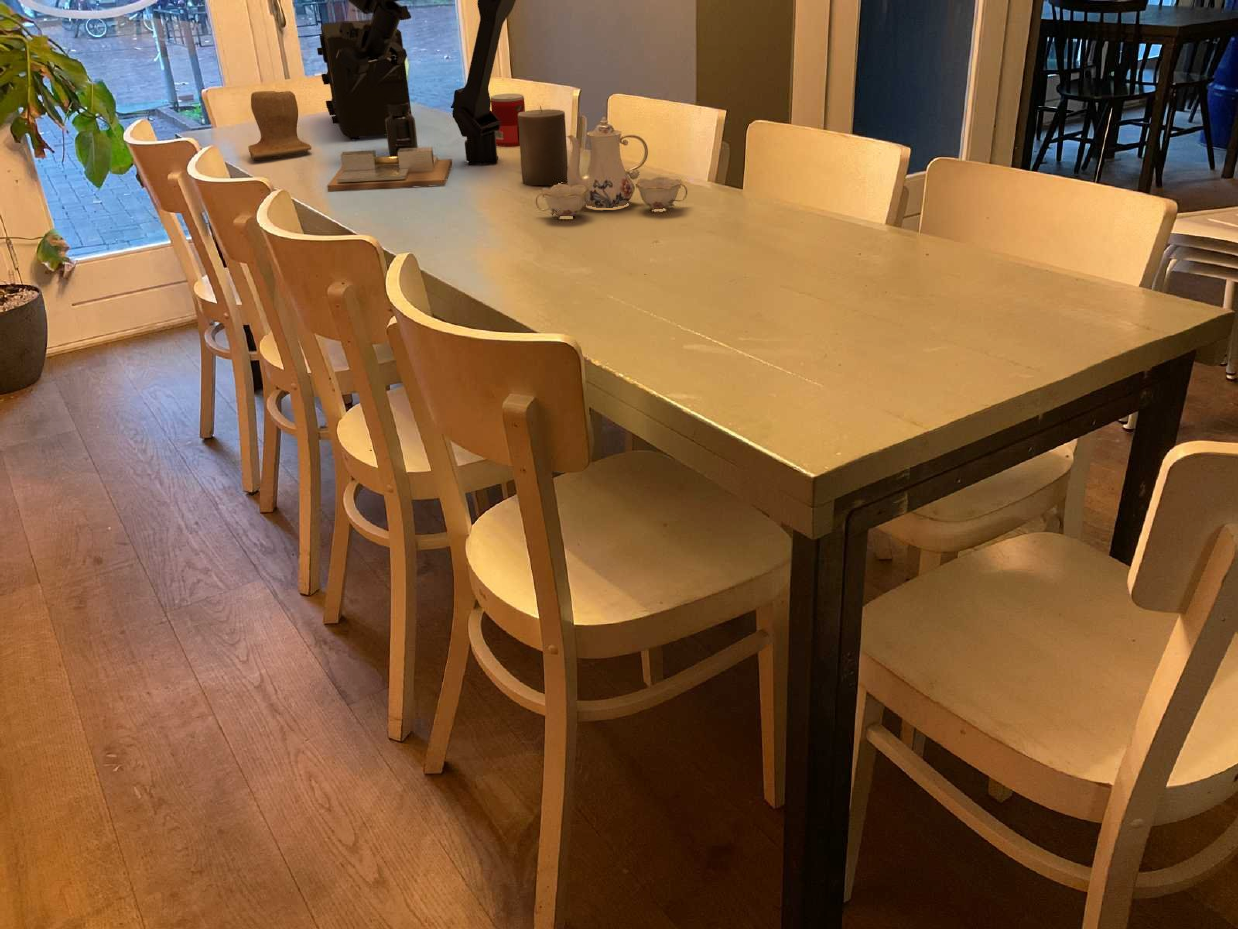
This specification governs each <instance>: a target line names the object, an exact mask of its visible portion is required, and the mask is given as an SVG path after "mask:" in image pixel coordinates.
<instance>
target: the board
mask: <svg viewBox="0 0 1238 929" xmlns="http://www.w3.org/2000/svg"><path fill="white" fill-rule="evenodd" d="M452 166H453V160H452V158H449V159H448V158H446V159H438V161H437V164H436V166H435V168H434V171H433V172H415V173H408V175H407V177H406V179H399V180H378V181H357V182H337V178H338V177H339V176H340V174H341V173H342V172H343V168H342V166H341V167H340V168H339V170H338V171H337V173H336V174H335V175H334V176H333V177H332V179H331V180H330V181H329V183H328V184H327V191H328V192H340V191H341V192H344V191H363V189H367V190H383V189H384V190H385V189H399V188H398V187H408V188H414V187H413V186H428V187H430V186H429V185H445V186H446V183H445V182H447V180H448V178H447V177H449V174H450V172H451V169H450V168H452ZM449 171H450V172H449ZM446 179H447V180H446Z"/></svg>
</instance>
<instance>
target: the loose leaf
mask: <svg viewBox="0 0 1238 929" xmlns="http://www.w3.org/2000/svg"><path fill="white" fill-rule="evenodd" d="M340 161H341V167H342V168H343V172H342V173H341V174H340V176H339V177H338V178H337V182H357V181H378V180H399V179H406V177H407V175H408V173H409V168H403V169H382V170H378V165H386V164H399V160H398V156H377V152H376V150H374V149H373V150H372V149H371V150H353V151H342V153H341V154H340Z"/></svg>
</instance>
